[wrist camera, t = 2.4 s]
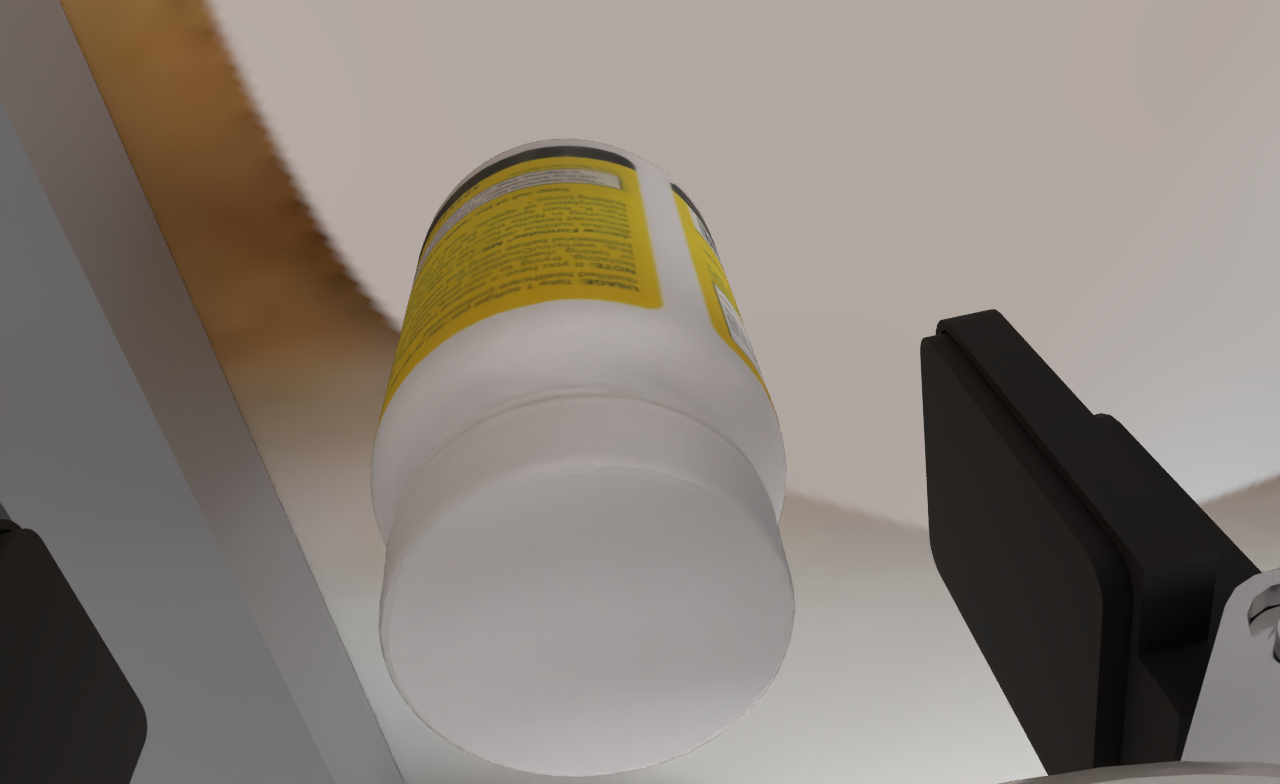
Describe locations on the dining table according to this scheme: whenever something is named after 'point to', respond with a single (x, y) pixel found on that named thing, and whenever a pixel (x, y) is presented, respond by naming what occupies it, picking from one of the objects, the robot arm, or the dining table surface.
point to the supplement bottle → (578, 474)
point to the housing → (151, 456)
